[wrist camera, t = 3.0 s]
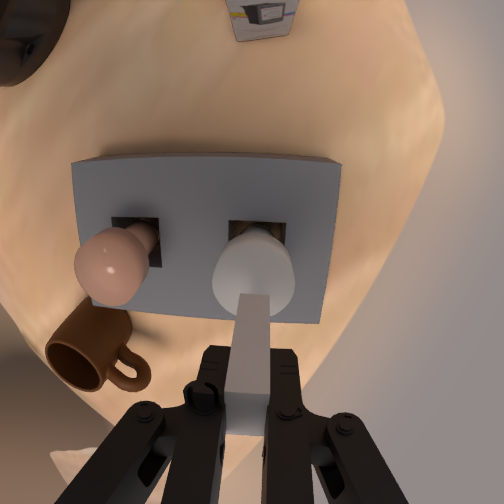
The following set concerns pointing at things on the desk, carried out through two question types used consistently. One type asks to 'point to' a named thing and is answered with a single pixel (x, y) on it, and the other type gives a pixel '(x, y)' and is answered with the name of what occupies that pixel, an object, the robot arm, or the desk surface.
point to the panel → (212, 220)
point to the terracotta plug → (115, 262)
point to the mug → (95, 349)
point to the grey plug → (254, 270)
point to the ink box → (261, 18)
